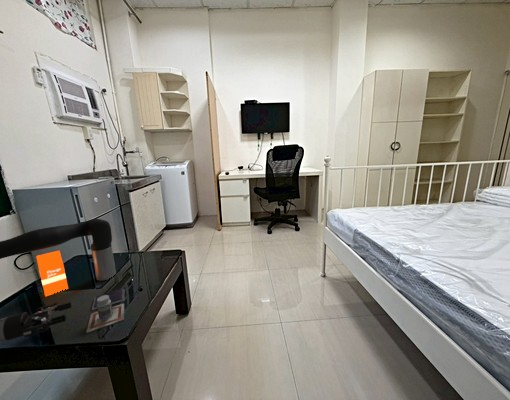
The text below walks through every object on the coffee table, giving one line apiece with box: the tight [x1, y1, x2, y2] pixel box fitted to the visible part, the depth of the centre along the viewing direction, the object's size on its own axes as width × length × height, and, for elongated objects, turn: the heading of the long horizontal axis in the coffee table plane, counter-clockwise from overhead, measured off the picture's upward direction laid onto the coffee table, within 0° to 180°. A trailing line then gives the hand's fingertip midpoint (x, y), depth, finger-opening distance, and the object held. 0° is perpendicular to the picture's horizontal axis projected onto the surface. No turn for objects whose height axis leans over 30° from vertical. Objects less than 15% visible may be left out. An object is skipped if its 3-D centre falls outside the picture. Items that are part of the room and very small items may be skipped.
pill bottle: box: [96, 295, 113, 320], centre depth 88 cm, size 5×5×8 cm
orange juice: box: [36, 250, 69, 297], centre depth 109 cm, size 8×9×20 cm
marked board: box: [85, 303, 125, 334], centre depth 88 cm, size 12×12×1 cm
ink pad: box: [91, 288, 125, 311], centre depth 100 cm, size 12×10×2 cm
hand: (68, 310), depth 82 cm, fingers open, 8 cm apart
